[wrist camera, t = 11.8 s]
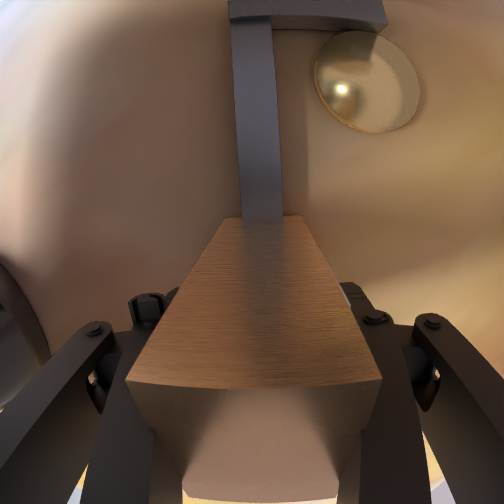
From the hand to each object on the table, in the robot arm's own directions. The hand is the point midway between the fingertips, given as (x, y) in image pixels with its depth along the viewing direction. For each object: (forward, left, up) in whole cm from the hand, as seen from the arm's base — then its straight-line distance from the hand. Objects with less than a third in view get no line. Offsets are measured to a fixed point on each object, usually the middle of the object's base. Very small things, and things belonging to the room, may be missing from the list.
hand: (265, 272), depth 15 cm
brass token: (+10, -6, -1) cm, 12 cm away
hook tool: (+7, -2, -1) cm, 7 cm away
